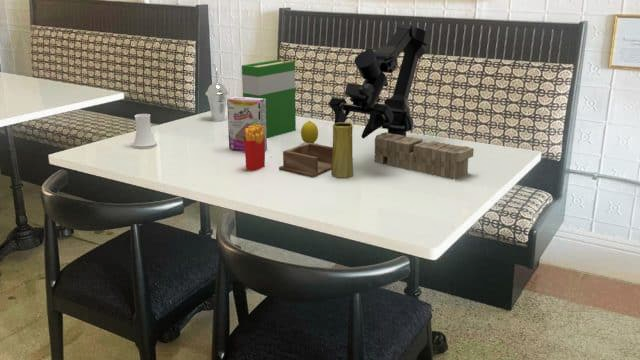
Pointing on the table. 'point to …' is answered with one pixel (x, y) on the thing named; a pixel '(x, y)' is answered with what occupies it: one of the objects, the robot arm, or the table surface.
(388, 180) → the table surface
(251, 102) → the candy bar box
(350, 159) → the vase
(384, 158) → the block tower
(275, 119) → the hardback book
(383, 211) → the table surface
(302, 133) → the lemon
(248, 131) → the french fries
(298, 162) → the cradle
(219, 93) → the cup with straw
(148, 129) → the vase
